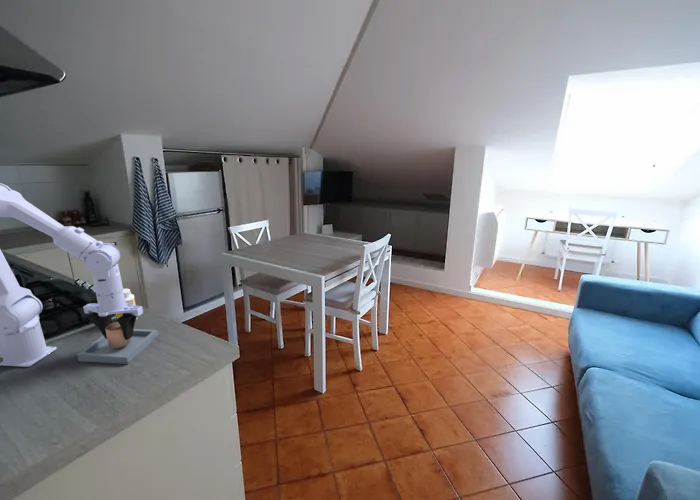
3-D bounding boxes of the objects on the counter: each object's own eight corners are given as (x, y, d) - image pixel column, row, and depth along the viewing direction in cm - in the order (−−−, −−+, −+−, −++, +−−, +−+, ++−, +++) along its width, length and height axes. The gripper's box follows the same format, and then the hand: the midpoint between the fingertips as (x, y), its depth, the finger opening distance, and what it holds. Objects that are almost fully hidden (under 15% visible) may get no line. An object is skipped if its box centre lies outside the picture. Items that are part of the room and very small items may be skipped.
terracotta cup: (103, 347, 87) (100, 330, 85) (121, 334, 93) (118, 318, 91) (121, 348, 87) (118, 332, 85) (138, 335, 93) (135, 319, 91)
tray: (78, 361, 84) (76, 354, 83) (115, 333, 96) (114, 327, 95) (128, 364, 83) (126, 357, 83) (158, 336, 96) (157, 330, 95)
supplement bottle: (125, 315, 106) (119, 286, 103) (142, 316, 106) (137, 287, 103) (112, 324, 101) (106, 294, 97) (131, 325, 101) (125, 295, 97)
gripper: (69, 296, 81) (80, 344, 85) (126, 299, 80) (135, 347, 85) (91, 285, 88) (101, 329, 92) (144, 287, 87) (152, 332, 91)
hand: (119, 337), depth 89 cm, fingers closed on terracotta cup, 5 cm apart
